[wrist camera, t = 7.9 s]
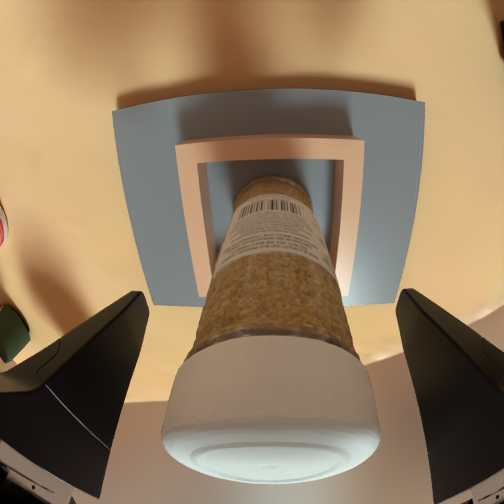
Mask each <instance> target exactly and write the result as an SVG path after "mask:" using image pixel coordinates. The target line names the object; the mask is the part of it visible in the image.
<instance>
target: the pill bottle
mask: <svg viewBox="0 0 504 504" xmlns="http://www.w3.org/2000/svg"><path fill="white" fill-rule="evenodd" d="M7 236H8V225H7V220H6V217H5V214H4V211H3V209H2V208H1V206H0V246H1V245H2V244H4V243H5V241H6V239H7Z"/></svg>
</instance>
